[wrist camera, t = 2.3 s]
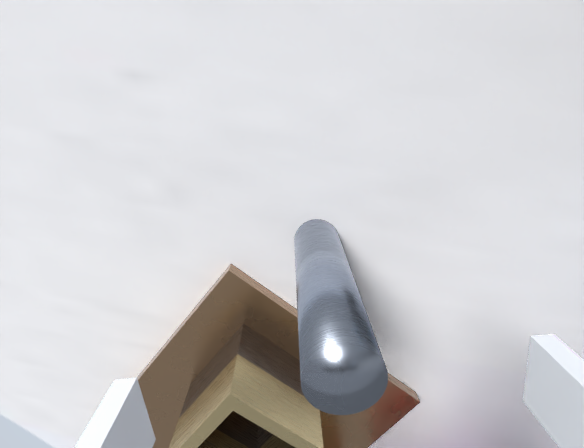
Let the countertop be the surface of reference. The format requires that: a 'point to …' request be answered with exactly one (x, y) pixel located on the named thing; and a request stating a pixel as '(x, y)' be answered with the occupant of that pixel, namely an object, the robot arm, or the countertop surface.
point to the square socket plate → (249, 380)
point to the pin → (333, 327)
